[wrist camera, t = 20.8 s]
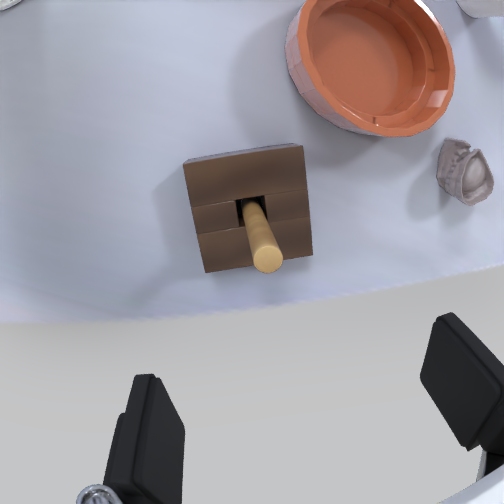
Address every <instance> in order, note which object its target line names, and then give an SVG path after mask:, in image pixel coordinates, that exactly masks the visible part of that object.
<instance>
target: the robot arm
mask: <svg viewBox="0 0 504 504" xmlns="http://www.w3.org/2000/svg"><path fill="white" fill-rule="evenodd" d="M20 1H21V0H0V10H5V9H7V8H10V7H12V6H13V5H15V4H17V3H18V2H20ZM420 379H421V382H422V384H423V386H424V387H425V389H426V390H427V392H428V393H429V395H430V396H431V398H432V400H433V401H434V403H435V404H436V406H437V407H438V409H439V411H440V412H441V414H442V415H443V417H444V419H445V420H446V422H447V423H448V425H449V427H450V428H451V430H452V432H453V433H454V435H455V437H456V438H457V440H458V442H459V443H460V445H461V446H463V447H466V449H467V451H470V450H472V449H473V448H475V447H477V446H479V444H480V445H481V447H482V448H483V450H482V456H481V461H480V466H479V470H478V475H477V479H476V482H475V483H474V484H472V485H470V486H469V487H467V488H465V489H464V490H462V491H460V492H459V493H457V494H455V495H453V496H451V497H449V498H447V499H445V500H444V501H442V502H439V503H438V504H504V365H503V364H502V363H501V362H500V361H499V360H498V359H497V358H496V356H495V355H494V354H493V353H492V352H491V351H490V350H489V349H488V348H487V347H486V346H485V345H484V344H483V343H482V342H481V340H480V339H479V338H478V337H477V336H476V335H475V334H474V333H473V332H472V331H471V330H470V329H469V328H468V327H467V326H466V325H465V324H464V323H463V322H462V321H461V320H460V319H459V318H458V317H457V316H456V315H455V314H454V313H451V312H450V313H447V314H444V315H442V316H439V317H437V319H436V322H434V323H433V327H432V331H431V335H430V339H429V343H428V347H427V351H426V355H425V359H424V363H423V366H422V369H421V373H420ZM184 442H185V429H184V425H183V422H182V421H181V419H180V417H179V415H178V413H177V411H176V409H175V407H174V405H173V403H172V402H171V399H170V397H169V395H168V393H167V391H166V389H165V387H164V385H163V383H162V381H161V379H160V378H156V377H155V375H154V374H141V375H136V376H135V377H134V380H133V385H132V388H131V392H130V395H129V399H128V404H127V407H126V411H125V413H121V414H120V415H119V418H118V420H117V424H116V428H115V432H114V436H113V441H112V445H111V449H110V454H109V458H108V462H107V467H106V471H105V476H104V481H103V485H100V484H97V485H91V486H88V487H86V488H85V489H83V490H82V491H81V492H80V494H79V495H78V497H77V500H76V504H182V481H183V480H182V479H183V459H184Z"/></svg>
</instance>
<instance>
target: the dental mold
mask: <svg viewBox="0 0 504 504" xmlns="http://www.w3.org/2000/svg"><path fill="white" fill-rule="evenodd" d="M470 147H471V146H470V144H468V143H467V142H466V141H463V140H458V139H453V138H446V139H445V142H444V144H443V147H442V148H441V151H440V155H439V159H438V170H437V176H436V177H437V179H438V183H439V185H440V186H441V187H442V188H444V189H445V191H446V192H447V193H448V192H449V194H450V195H453V196H454V197H456V198H457V199H458V200H460V201H461V202H463V203H465V204H467V205H469V206H472V205H475V204H476V203H478V202H481V201H483V200H485V199H486V198H487V197H488V196H489V195H490V194H491V193H492V190H493V186H494V179H493V176H492V173H491V171H490V168H489V166H488V164H487V162H486V159H485V157H484V155H483V153H482V152H481V150H480V149H474V150H473V151H472V152H471V153H470V151H469V148H470Z"/></svg>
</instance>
